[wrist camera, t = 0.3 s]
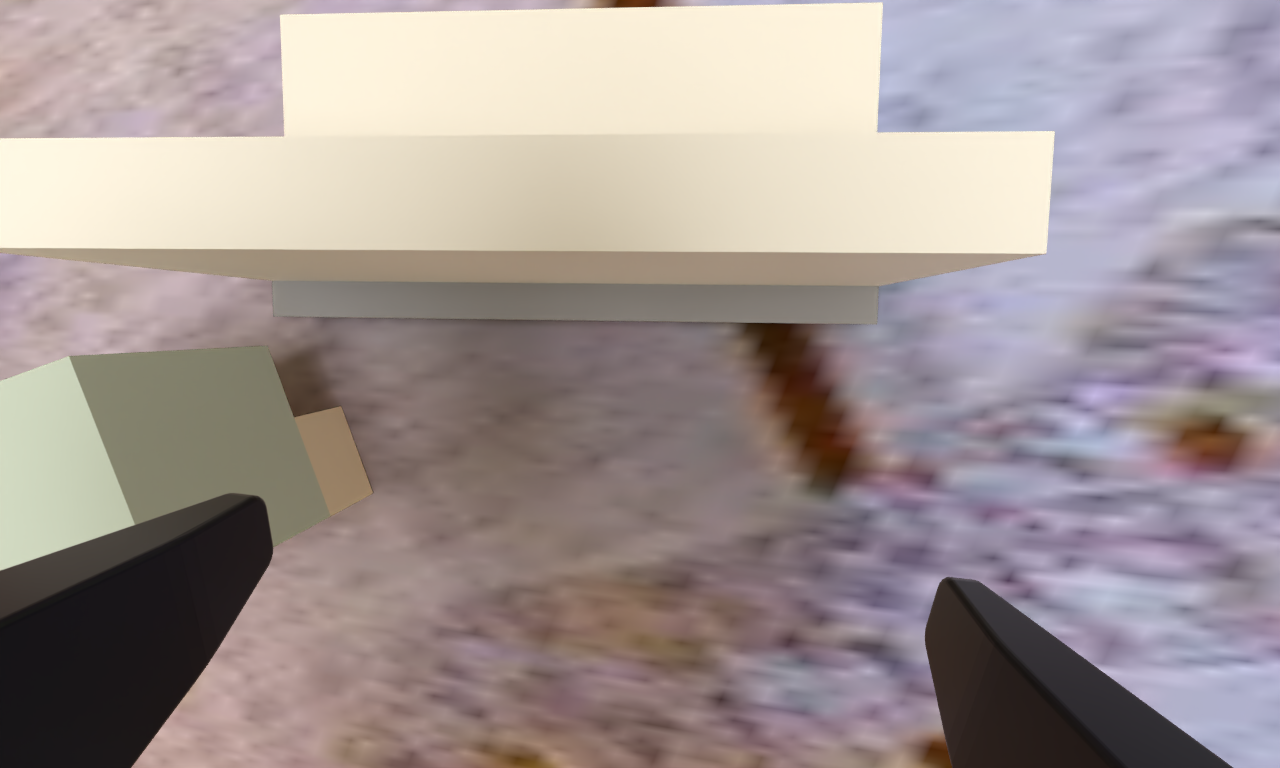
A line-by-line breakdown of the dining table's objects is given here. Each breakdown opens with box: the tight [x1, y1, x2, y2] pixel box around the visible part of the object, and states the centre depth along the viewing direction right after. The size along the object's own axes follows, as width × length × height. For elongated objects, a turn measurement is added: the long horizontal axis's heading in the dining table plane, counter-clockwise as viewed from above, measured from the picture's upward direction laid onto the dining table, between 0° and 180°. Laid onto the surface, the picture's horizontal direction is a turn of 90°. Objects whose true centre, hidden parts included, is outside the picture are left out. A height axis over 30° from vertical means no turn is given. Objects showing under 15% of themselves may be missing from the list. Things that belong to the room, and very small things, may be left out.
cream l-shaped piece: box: [0, 3, 1055, 324], centre depth 17 cm, size 10×20×12 cm, turn 89°
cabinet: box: [0, 346, 373, 570], centre depth 20 cm, size 6×5×10 cm
